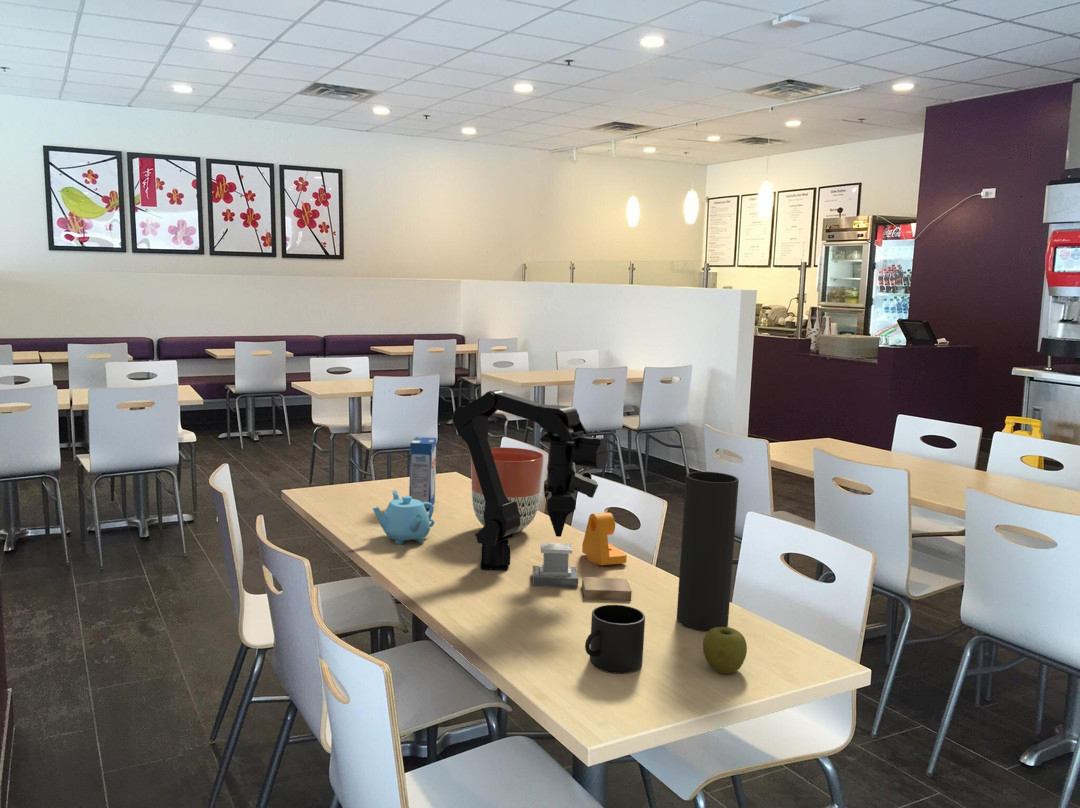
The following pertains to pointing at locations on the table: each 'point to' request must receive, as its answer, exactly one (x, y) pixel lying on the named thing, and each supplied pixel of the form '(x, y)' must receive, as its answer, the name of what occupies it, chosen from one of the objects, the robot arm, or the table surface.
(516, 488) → the planter
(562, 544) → the block
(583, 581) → the stand
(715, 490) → the vase
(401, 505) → the teapot
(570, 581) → the stand
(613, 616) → the mug
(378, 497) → the table surface
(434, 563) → the table surface
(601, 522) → the bracket
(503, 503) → the robot arm
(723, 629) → the apple
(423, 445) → the milk carton
